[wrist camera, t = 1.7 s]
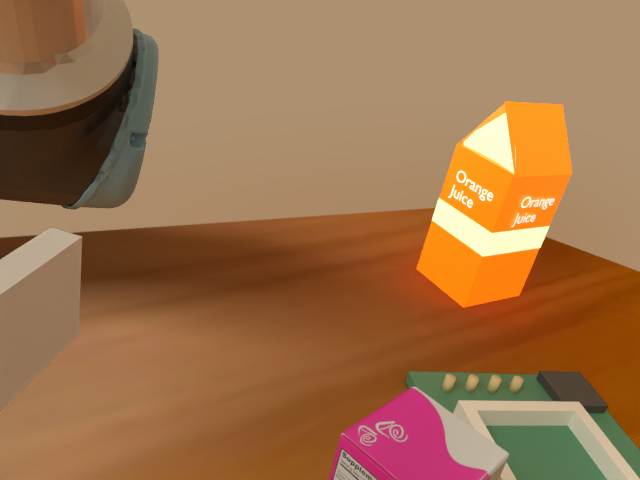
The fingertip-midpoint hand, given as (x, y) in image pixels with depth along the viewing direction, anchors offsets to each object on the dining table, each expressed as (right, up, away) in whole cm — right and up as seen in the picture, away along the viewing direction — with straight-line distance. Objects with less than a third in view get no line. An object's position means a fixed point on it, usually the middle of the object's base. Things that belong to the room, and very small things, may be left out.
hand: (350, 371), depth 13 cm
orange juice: (+15, -2, +53) cm, 55 cm away
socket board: (+15, -13, +31) cm, 37 cm away
